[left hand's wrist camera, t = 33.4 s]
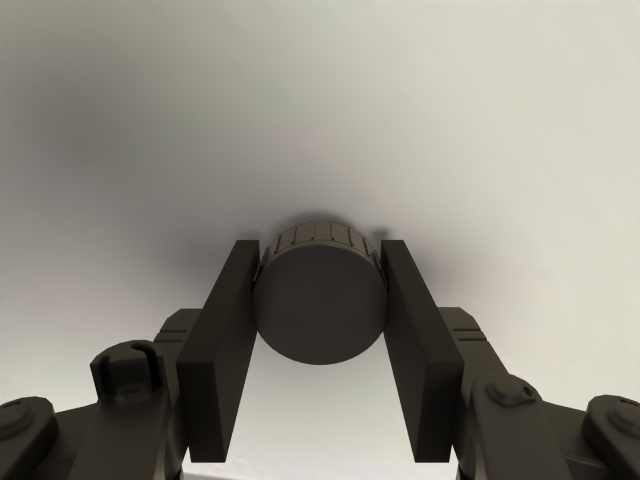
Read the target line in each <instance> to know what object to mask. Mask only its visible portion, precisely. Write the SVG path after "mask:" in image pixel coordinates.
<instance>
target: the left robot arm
mask: <svg viewBox="0 0 640 480" xmlns="http://www.w3.org/2000/svg"><path fill="white" fill-rule="evenodd" d="M259 261H260V250H259V240H237V241H236V243H235V245H234V247H233V249H232V251H231V253H230V255H229V257H228V259H227V261H226V263H225V265H224V267H223V269H222V271H221V273H220V275H219V277H218V279H217V281H216V283H215V285H214V287H213V289H212V291H211V293H210V295H209V297H208V299H207V301H206V303H205V305H204V307H203V309H180V310H178V311H177V312H176V313H174V314H173V315H171V316H170V317H169V318H167V320H166V321H165V323H164V325H163V326H162V328H161V329H160V333H158V334H157V336H156V337H155V339H154V342H151V341H148V340H132V341H127V342H123V343H119V344H117V345H114V346H112V347H110V348H107V349H106V350H104V351H103V352H101V353H100V354H99V355H97V356H96V357H95V358H94V360H93V361H92V362H91V364H90V368H91V372H92V376H93V380H94V384H95V388H96V392H97V395H98V401H97V403H94V404H91V405H87V406H84V407H79V408H75V409H71V410H66V411H62V412H57V413H55V412H54V408H53V405H52V403H51V402H49V401H48V400H47V399H46V398H41V397H36V396H34V397H25V398H19V399H16V400H13V401H10V402H7V403H4V404H2V405H1V406H0V480H184V476H183V469H182V462H183V459H184V456H185V454H186V451H187V448H188V446H189V452H190V458H191V463H225V461H226V457H227V453H228V449H229V445H230V441H231V437H232V433H233V428H234V424H235V420H236V416H237V412H238V408H239V404H240V400H241V396H242V392H243V388H244V384H245V379H246V375H247V371H248V367H249V363H250V359H251V355H252V351H253V347H254V343H255V339H256V334H257V329H256V327H255V324H254V322H253V316H252V302H251V294H252V289H253V286H254V283H253V280H254V277H255V273H256V270H257V267H258V264H259ZM380 264H381V267H382V270H383V273H384V276H385V279H386V282H387V289H388V292H389V307H388V319H387V323H386V325H385V327H384V329H383V333H384V337H385V342H386V346H387V350H388V354H389V358H390V362H391V366H392V370H393V374H394V378H395V382H396V387H397V391H398V395H399V399H400V403H401V407H402V411H403V415H404V419H405V423H406V427H407V431H408V436H409V440H410V444H411V448H412V452H413V456H414V460H415V463H449V460H450V453H451V447H452V445H453V448H454V451H455V453H456V456H457V459H458V462H459V463H458V469H457V475H456V480H640V403H638V402H636V401H633V400H630V399H627V398H624V397H621V396H613V395H601V396H596V397H594V398H593V399H592V400H591V401H590V402H589V403H588V406H587V410H586V411H582V410H577V409H573V408H568V407H564V406H560V405H555V404H552V403H549V402H545V401H543V400H542V398H541V396H540V395H539V393H538V392H537V390H536V389H535V388H534V387H532V386H531V385H530V384H529V383H527V382H526V381H525V380H523V379H520V378H518V377H516V376H514V375H511V374H509V373H508V371H507V370H506V368H505V367H504V365H503V364H502V362H501V360H500V359H499V357H498V356H497V354H496V352H495V351H494V349H493V348H492V346H491V345H490V343H489V341H487V338H486V337H485V335H484V333H483V332H482V331H481V329H480V327H479V326H478V324H477V322H476V321H475V319H474V318H473V317H472V316H471V315H469V314H468V313H467V312H465V311H464V310H463V309H461V308H460V307H437V306H436V304H435V302H434V300H433V298H432V296H431V294H430V292H429V290H428V288H427V286H426V284H425V282H424V280H423V278H422V276H421V274H420V272H419V270H418V268H417V266H416V264H415V262H414V260H413V258H412V256H411V254H410V252H409V250H408V248H407V246H406V244H405V242H404V241H403V240H381V255H380Z"/></svg>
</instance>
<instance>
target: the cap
mask: <svg viewBox="0 0 640 480" xmlns="http://www.w3.org/2000/svg"><path fill="white" fill-rule="evenodd" d="M253 283H254V286H253V289H252V294H251V302H252V316H253V322H254V324H255V327H256V329H257V331H258V332H259V334H260V335H261V337H262V338H263V339H264V341H265V342H266V343H267V344H268V345H269V346H270V347H271V348H272V349H274V350H275V351H277V352H278V353H279V354H281V355H283V356H285V357H287V358H289V359H292V360H294V361H297V362H301V363H306V364H313V365H328V364H335V363H339V362H343V361H346V360H349V359H351V358H354V357H355V356H357V355H359V354H361V353H362V352H364V351H365V350H367V349H368V348H369V347H370V346H371V345H372V344H373V343H374V342H375V341H376V340H377V339H378V337H379V336H380V334H381V333H382V331H383V329H384V327H385V325H386V323H387V319H388V307H389V292H388V289H387V282H386V279H385V276H384V273H383V270H382V267H381V264H380V261H379V258H378V254H377V251H376V250H373V248H372V247H371V245H370V244H369V243H368V242H367V240H366V238H365V237H362V236H361V235H360V234H358V233H357V232H355V231H353V230H352V229H351V228H350V227H348V228H347V227H345V226H342V225H339V224H335V223H333V222H331V223H330V222H314V221H312V222H310V223H305V224H301V225H298V226H296V225H295V226H294V227H293V228H291V229H289V230H287V231H285V232H284V233H282V234H281V235H280V234H279V235H278V237H277V238H276V239H275V240H274V241H273V242H272V243H271V244H270V246H269V247H268V246H267V247H266V250H265V253H264V256H263V258H262V261H259V264H258V267H257V270H256V273H255V277H254V280H253Z"/></svg>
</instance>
